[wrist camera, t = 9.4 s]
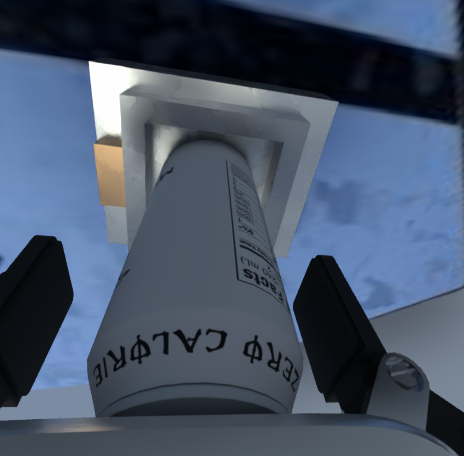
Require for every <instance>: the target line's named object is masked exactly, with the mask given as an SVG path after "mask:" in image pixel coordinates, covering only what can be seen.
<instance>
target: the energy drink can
mask: <svg viewBox="0 0 464 456" xmlns="http://www.w3.org/2000/svg"><path fill="white" fill-rule="evenodd" d="M302 371H303V355H302V352H301V348H300V344H299V341H298V337H297V333H296V330H295V326H294V323H293V319H292V315H291V312H290V308H289V305H288V301H287V297H286V294H285V290H284V287H283V283H282V279H281V276H280V272H279V268H278V265H277V261H276V258H275V254H274V250H273V247H272V243H271V240H270V236H269V232H268V229H267V225H266V222H265V218H264V214H263V211H262V207H261V204H260V200H259V196H258V193H257V189H256V185H255V182H254V178H253V175H252V172H251V168H250V166H249V165H248V163H247V161H246V160H245V158H244V157H243V156H242V155H241V154H240V153H239V152H238V151H236V150H235V149H234V148H232V147H231V146H228V145H226V144H224V143H221V142H218V141H214V140H198V141H192V142H190V143H187V144H184V145H182V146H181V147H179V148H177V149H176V150H175V151H174V152H172V153H171V154H170V155H169V156H168V158H167V159H166V161H165V162H164V164H163V167H162V169H161V172H160V174H159V177H158V179H157V182H156V184H155V187H154V190H153V192H152V195H151V197H150V200H149V202H148V205H147V208H146V210H145V213H144V215H143V218H142V220H141V223H140V225H139V228H138V231H137V233H136V236H135V238H134V241H133V243H132V246H131V248H130V251H129V254H128V256H127V259H126V261H125V264H124V266H123V269H122V272H121V274H120V277H119V279H118V282H117V284H116V287H115V289H114V292H113V295H112V297H111V300H110V302H109V305H108V307H107V310H106V313H105V315H104V318H103V320H102V323H101V325H100V328H99V330H98V333H97V336H96V338H95V341H94V343H93V346H92V348H91V351H90V354H89V356H88V359H87V372H88V380H89V385H90V390H91V394H92V399H93V404H94V409H95V415H96V417H134V416H182V415H234V414H292V409H293V405H294V401H295V397H296V394H297V390H298V386H299V383H300V379H301V375H302Z"/></svg>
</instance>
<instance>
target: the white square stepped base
mask: <svg viewBox="0 0 464 456" xmlns="http://www.w3.org/2000/svg"><path fill="white" fill-rule="evenodd" d="M89 69H90V78H91V87H92V97H93V106H94V115H95V124H96V134H97V141H96V142H95V143H94V153H95V161H96V170H97V179H98V187H99V196H100V205H104V208H105V217H106V227H107V236H108V243H118V244H128V251H130V248H131V246H132V243H133V241H134V238H135V236H136V233H137V231H138V228H139V225H140V223H141V220H142V218H143V215H144V213H145V210H146V208H147V205H148V202H149V200H150V197H151V195H152V192H153V190H154V187H155V184H156V182H157V179H158V177H159V174H160V172H161V169H162V167H163V164H164V162H165V161H166V159H167V158H168V156H169V155H170V154H171V153H172V152H174V151H175V150H176V149H177V148H179V147H181V146H182V145H184V144H187V143H190V142H192V141H198V140H214V141H218V142H221V143H224V144H226V145H228V146H231V147H232V148H234V149H235V150H236V151H238V152H239V153H240V154H241V155H242V156H243V157H244V158H245V160H246V161H247V163H248V165H249V166H250V168H251V172H252V175H253V178H254V182H255V185H256V189H257V193H258V196H259V200H260V204H261V207H262V211H263V214H264V218H265V222H266V225H267V229H268V232H269V236H270V240H271V243H272V247H273V250H274V254H275V257H283V258H287V255H288V252H289V249H290V246H291V243H292V240H293V237H294V234H295V231H296V228H297V225H298V222H299V219H300V216H301V213H302V210H303V207H304V204H305V201H306V198H307V195H308V192H309V189H310V186H311V183H312V180H313V177H314V174H315V171H316V168H317V165H318V162H319V159H320V156H321V153H322V150H323V147H324V145H325V142H326V139H327V136H328V133H329V130H330V127H331V124H332V121H333V118H334V115H335V112H336V109H337V106H338V103H339V102H338V101H336V100H334V99H332V98H330V97H329V96H327V95H325V94H323V93H318V92H312V91H306V90H300V89H294V88H288V87H282V86H276V85H270V84H264V83H258V82H252V81H246V80H240V79H234V78H228V77H222V76H216V75H210V74H204V73H198V72H192V71H186V70H180V69H174V68H168V67H162V66H156V65H150V64H144V63H138V62H132V61H126V60H119V59H113V58H107V57H105V58H101V59H96V60H92V61H89Z"/></svg>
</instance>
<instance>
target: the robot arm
mask: <svg viewBox="0 0 464 456" xmlns="http://www.w3.org/2000/svg"><path fill="white" fill-rule="evenodd" d="M73 297H74V293H73V288H72V284H71V280H70V275H69V271H68V267H67V262H66V258H65V254H64V249H63V245H62V242H61V241H57V239H56V237H54V236H42V235H36V236H34V237H33V238H32V239H31V240H30V242H29V243H28V244H27V245H26V247H25V248H24V249H23V250H22V251H21V253H20V254H19V255H18V256H17V258H16V259H15V260H14V261H13V263H12V264H11V265H10V266H9V268H8V269H7V270H6V271H5V272H3V273H1V274H0V408H1V407H17V406H18V403H19V401H20V399H21V397H22V396H26V395H27V394H28V393H29V392H30V390H31V388H32V386H33V384H34V382H35V379H36V377H37V375H38V373H39V371H40V369H41V367H42V365H43V363H44V361H45V358H46V356H47V354H48V352H49V350H50V348H51V346H52V344H53V342H54V340H55V337H56V335H57V333H58V331H59V329H60V327H61V325H62V323H63V321H64V318H65V316H66V314H67V312H68V310H69V308H70V306H71V304H72V301H73ZM293 311H294V314H295V317H296V321H297V324H298V327H299V330H300V333H301V337H302V340H303V343H304V346H305V349H306V353H307V356H308V359H309V362H310V365H311V369H312V372H313V375H314V378H315V381H316V385H317V388H318V390H319V392H320V393H323V395H324V398H325V401H326V403H328V402H339V404H340V407H341V410H342V412H341V414H320V413H318V414H317V413H315V414H312V413H309V414H307V413H304V414H303V413H302V414H234V415H182V416H134V417H95V418H57V419H32V420H8V421H0V456H464V412H462V411H461V410H459V409H458V408H456V407H455V406H453V405H452V404H451V403H449V402H448V401H446V400H445V399H443V398H442V397H440V396H439V395H437V394H435V393H434V392H433V391H431V390H430V388H429V381H428V379H427V377H426V375H425V373H424V372H423V371H422V369H421V368H420V367H419V366H418V365H417V364H416V363H415V362H414V361H412V360H411V359H409V358H408V357H406V356H404V355H402V354H398V353H394V352H393V353H387V352H386V350H385V348H384V347H383V345H382V343H381V341H380V340H379V338H378V336H377V334H376V332H375V331H374V329H373V327H372V325H371V323H370V322H369V320H368V318H367V316H366V314H365V313H364V311H363V309H362V307H361V305H360V304H359V302H358V300H357V298H356V296H355V295H354V293H353V291H352V290H351V288H350V286H349V284H348V282H347V281H346V279H345V277H344V275H343V273H342V272H341V270H340V268H339V266H338V264H337V263H336V261H335V259H334V258H333V256H327V255H317V256H316V257H315V258H312V259H311V261H310V264H309V266H308V269H307V271H306V273H305V276H304V278H303V281H302V283H301V285H300V288H299V290H298V293H297V295H296V298H295V300H294V303H293Z"/></svg>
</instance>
